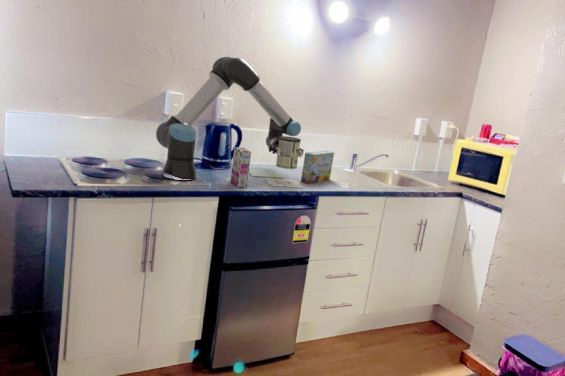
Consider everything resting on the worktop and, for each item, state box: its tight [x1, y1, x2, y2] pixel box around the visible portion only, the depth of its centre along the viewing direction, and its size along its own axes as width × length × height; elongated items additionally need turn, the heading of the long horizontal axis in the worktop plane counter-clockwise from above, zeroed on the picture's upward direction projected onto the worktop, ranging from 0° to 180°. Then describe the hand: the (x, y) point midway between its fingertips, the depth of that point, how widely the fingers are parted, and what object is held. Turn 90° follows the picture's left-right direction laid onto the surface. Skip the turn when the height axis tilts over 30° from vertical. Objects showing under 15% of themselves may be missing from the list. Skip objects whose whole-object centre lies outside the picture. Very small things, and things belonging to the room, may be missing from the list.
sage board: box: [248, 168, 284, 179], centre depth 252 cm, size 16×16×1 cm
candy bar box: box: [230, 146, 252, 189], centre depth 220 cm, size 11×5×16 cm, turn 22°
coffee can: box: [275, 135, 302, 170], centre depth 234 cm, size 10×10×14 cm
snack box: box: [300, 150, 335, 185], centre depth 250 cm, size 21×6×15 cm, turn 146°
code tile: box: [264, 178, 305, 189], centre depth 238 cm, size 16×16×1 cm
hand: (290, 153), depth 230 cm, fingers closed on coffee can, 10 cm apart
